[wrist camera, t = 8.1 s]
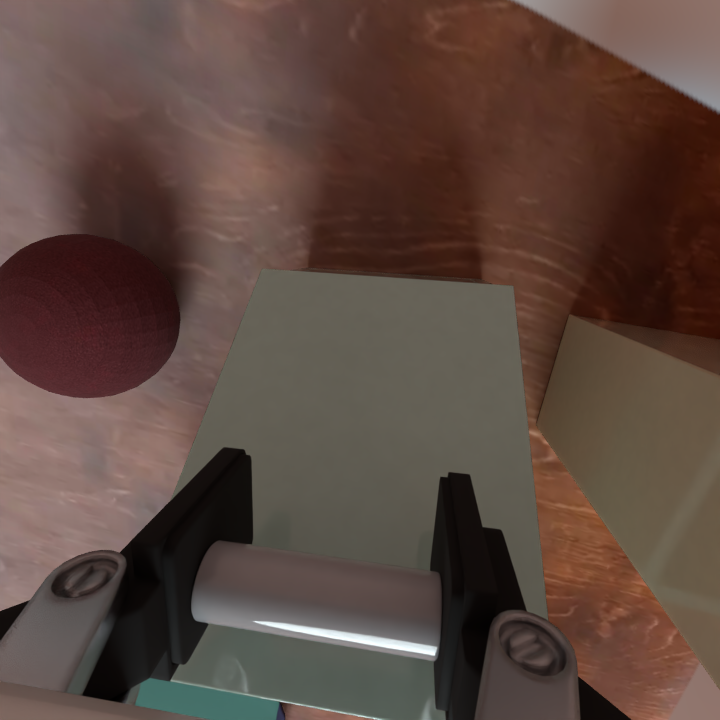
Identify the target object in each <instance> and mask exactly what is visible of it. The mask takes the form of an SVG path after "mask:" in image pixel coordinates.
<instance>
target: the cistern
mask: <svg viewBox="0 0 720 720" xmlns="http://www.w3.org/2000/svg"><path fill="white" fill-rule="evenodd" d="M536 426H537V428H538V429H539V430H540V432H541V433H542V435H543V436H544V438H545V439H546V441H547V442H548V443H549V445H550V446H551V448H552V449H553V451H554V452H555V453H556V455H557V456H558V458H559V459H560V461H561V462H562V464H563V465H564V466H565V468H566V469H567V471H568V472H569V474H570V475H571V477H572V478H573V479H574V481H575V482H576V484H577V485H578V487H579V488H580V490H581V491H582V492H583V494H584V495H585V497H586V498H587V500H588V501H589V502H590V504H591V505H592V507H593V508H594V510H595V511H596V513H597V514H598V515H599V517H600V518H601V520H602V521H603V523H604V524H605V526H606V527H607V528H608V530H609V531H610V533H611V534H612V536H613V537H614V538H615V540H616V541H617V543H618V544H619V546H620V547H621V549H622V550H623V551H624V553H625V554H626V556H627V557H628V559H629V560H630V562H631V563H632V564H633V566H634V567H635V569H636V570H637V572H638V573H639V575H640V576H641V577H642V579H643V580H644V582H645V583H646V585H647V586H648V587H649V589H650V590H651V592H652V593H653V595H654V596H655V598H656V599H657V600H658V602H659V603H660V605H661V606H662V608H663V609H664V611H665V612H666V613H667V615H668V616H669V618H670V619H671V621H672V622H673V624H674V625H675V626H676V628H677V629H678V631H679V632H680V634H681V635H682V636H683V638H684V639H685V641H686V642H687V644H688V645H689V647H690V648H691V649H692V651H693V652H694V654H695V655H696V657H697V658H698V660H699V661H700V662H701V664H702V665H703V667H704V668H705V670H706V671H707V672H708V674H709V675H710V677H711V678H712V680H713V681H714V683H715V684H716V685H717V687H718V688H719V690H720V340H718V339H712V338H706V337H700V336H694V335H688V334H682V333H676V332H671V331H665V330H659V329H653V328H647V327H641V326H635V325H629V324H623V323H617V322H611V321H606V320H600V319H594V318H588V317H582V316H576V315H569V317H568V320H567V323H566V327H565V330H564V333H563V337H562V340H561V343H560V347H559V350H558V354H557V357H556V360H555V364H554V367H553V370H552V374H551V377H550V380H549V384H548V387H547V390H546V394H545V397H544V400H543V404H542V407H541V410H540V414H539V417H538V421H537V424H536Z"/></svg>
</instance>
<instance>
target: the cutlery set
mask: <svg viewBox="0 0 720 720" xmlns="http://www.w3.org/2000/svg"><path fill="white" fill-rule="evenodd" d="M135 706H141V707H146V708H151V709H157V710H162V711H167V712H172V713H178V714H183V715H188V716H193V717H199V718H204V719H209V720H285V713H284V711H283V708H282V705H281V703H280V702H278V701H273V700H268V699H262V698H257V697H251V696H246V695H241V694H235V693H230V692H225V691H219V690H214V689H209V688H203V687H198V686H193V685H187V684H182V683H176V682H171V681H170V682H169V681H163V680H158V679H152V678H149V679H147V680H145V681H144V682H142V683H141V685H140V690H139V694H138V697H137V700H136V703H135Z"/></svg>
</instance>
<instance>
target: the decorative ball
mask: <svg viewBox="0 0 720 720" xmlns="http://www.w3.org/2000/svg"><path fill="white" fill-rule="evenodd" d="M179 328H180V312H179V305H178V302H177V299H176V295H175V293H174V291H173V289H172V287H171V285H170V283H169V282H168V280H167V279H166V277H165V276H164V275H163V273H162V272H161V271H160V270H159V269H158V268H157V267H156V266H155V265H154V264H153V263H152V262H151V261H150V260H149V259H148V258H147V257H145V256H144V255H142V254H141V253H140V252H138V251H137V250H135V249H133V248H131V247H129V246H126V245H124V244H122V243H120V242H118V241H115V240H112V239H108V238H103V237H99V236H93V235H88V234H69V235H58V236H54V237H50V238H45V239H42V240H40V241H37V242H35V243H32V244H30V245H28V246H26V247H24V248H22V249H20V250H19V251H18V252H17V253H15V254H14V255H13V256H12V257H10V258H9V259H8V260H7V261H6V262H5V263H4V264H3V265H2V266H1V267H0V357H1V358H2V359H3V360H4V362H5V363H6V364H7V365H8V366H9V367H10V368H11V369H12V370H13V371H14V372H15V373H16V374H18V375H19V376H21V377H22V378H24V379H25V380H27V381H28V382H30V383H32V384H34V385H36V386H38V387H40V388H42V389H44V390H47V391H49V392H52V393H56V394H60V395H65V396H70V397H78V398H96V397H105V396H112V395H116V394H119V393H122V392H125V391H127V390H130V389H133V388H135V387H137V386H139V385H140V384H142V383H143V382H145V381H146V380H148V379H149V378H151V377H152V376H153V375H155V374H156V373H157V372H158V371H159V370H160V369H161V368H162V366H163V365H164V364H165V363H166V362H167V360H168V359H169V357H170V356H171V354H172V352H173V350H174V348H175V346H176V342H177V339H178V335H179Z"/></svg>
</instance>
